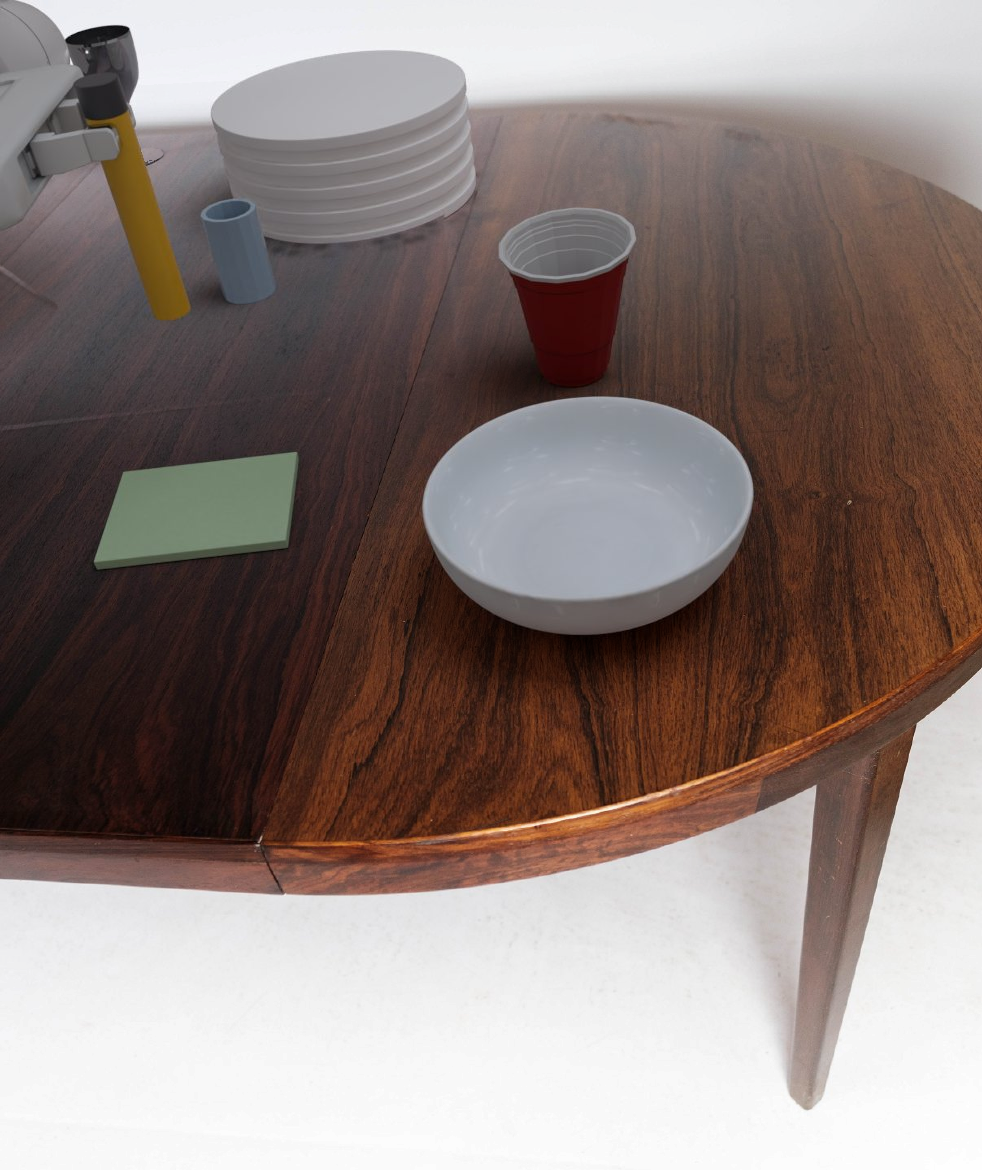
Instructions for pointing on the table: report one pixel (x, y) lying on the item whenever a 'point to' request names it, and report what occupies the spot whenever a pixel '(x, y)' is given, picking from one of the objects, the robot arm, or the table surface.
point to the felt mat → (200, 511)
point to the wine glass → (106, 54)
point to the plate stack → (349, 144)
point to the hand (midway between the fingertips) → (124, 129)
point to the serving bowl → (588, 513)
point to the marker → (135, 197)
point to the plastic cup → (570, 287)
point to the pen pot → (239, 250)
